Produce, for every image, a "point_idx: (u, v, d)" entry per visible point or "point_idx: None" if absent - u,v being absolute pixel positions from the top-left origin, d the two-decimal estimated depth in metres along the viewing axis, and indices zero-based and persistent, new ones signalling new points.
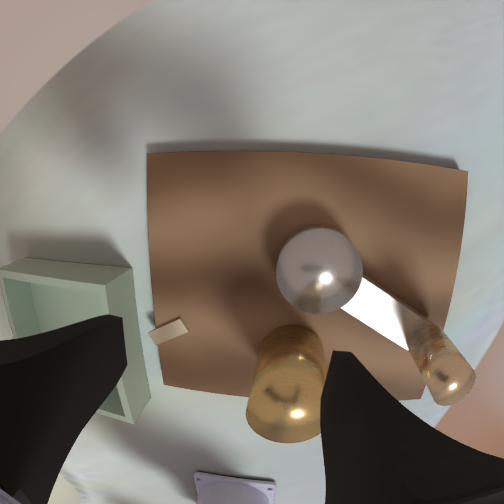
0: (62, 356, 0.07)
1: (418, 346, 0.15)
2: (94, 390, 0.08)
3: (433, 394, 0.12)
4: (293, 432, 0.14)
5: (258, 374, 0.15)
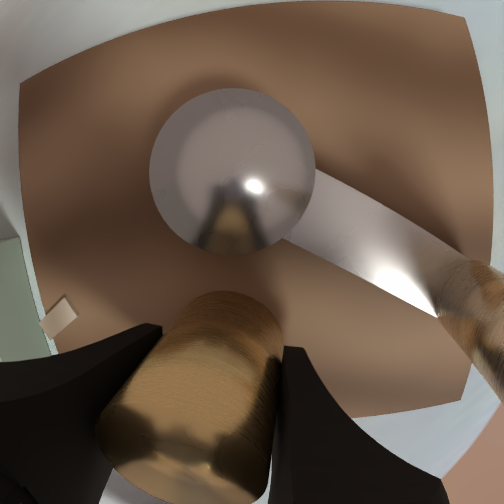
0: (107, 371, 0.07)
1: (458, 303, 0.07)
2: None
3: None
4: (200, 495, 0.06)
5: None
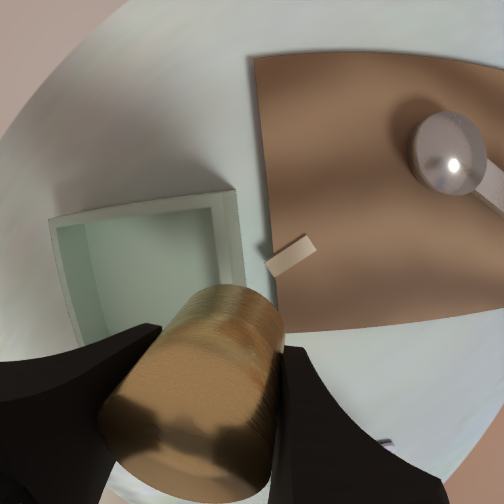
0: (108, 371, 0.07)
1: None
2: None
3: None
4: (202, 486, 0.06)
5: None
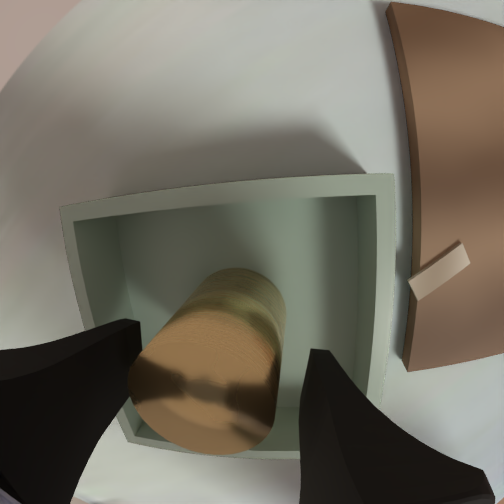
0: (82, 363, 0.07)
1: None
2: (113, 397, 0.08)
3: None
4: (214, 436, 0.08)
5: None
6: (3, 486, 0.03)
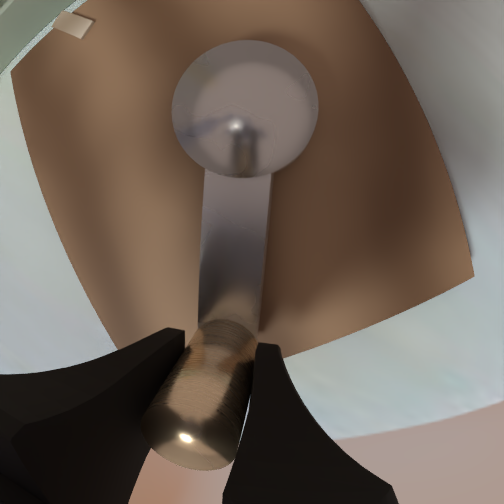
0: (136, 380, 0.07)
1: (213, 336, 0.09)
2: None
3: (149, 410, 0.06)
4: None
5: None
6: None
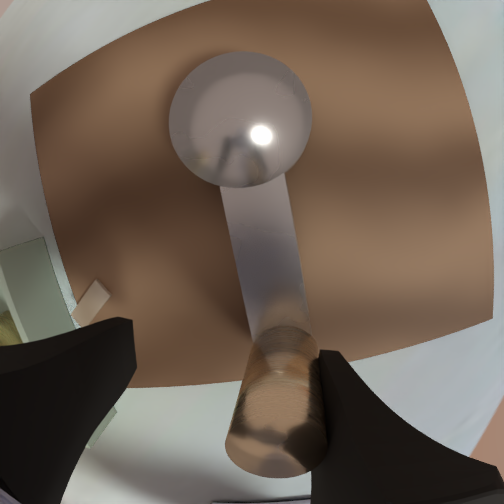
0: (73, 360, 0.07)
1: (272, 344, 0.09)
2: (105, 394, 0.08)
3: (232, 430, 0.06)
4: None
5: None
6: None
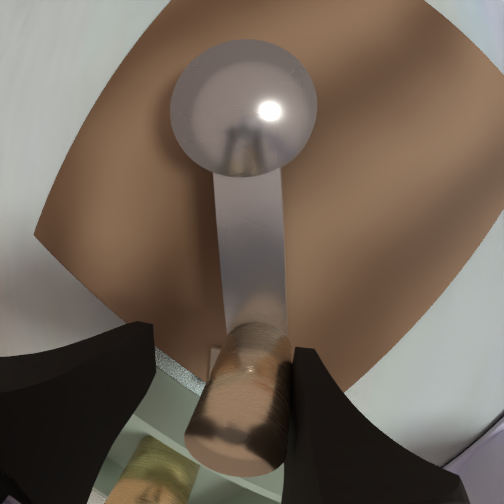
0: (97, 368, 0.07)
1: (245, 340, 0.09)
2: (126, 401, 0.08)
3: (192, 423, 0.06)
4: None
5: None
6: (18, 498, 0.03)
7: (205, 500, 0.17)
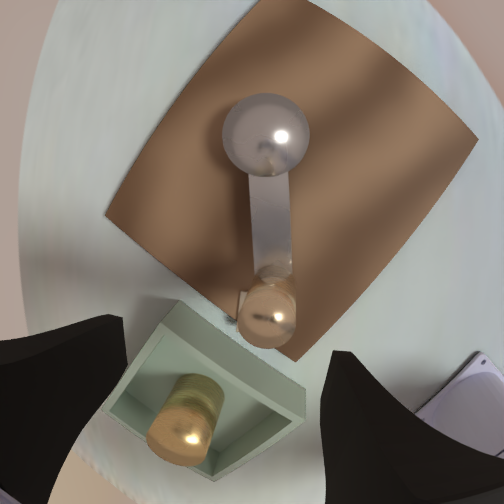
0: (62, 356, 0.07)
1: (267, 272, 0.16)
2: (94, 390, 0.08)
3: (243, 306, 0.13)
4: (191, 454, 0.17)
5: None
6: None
7: (225, 439, 0.23)
